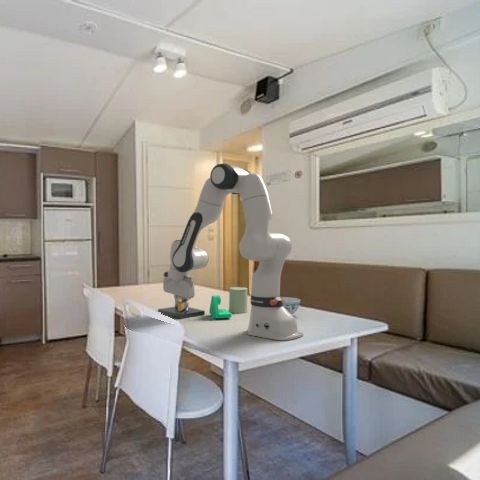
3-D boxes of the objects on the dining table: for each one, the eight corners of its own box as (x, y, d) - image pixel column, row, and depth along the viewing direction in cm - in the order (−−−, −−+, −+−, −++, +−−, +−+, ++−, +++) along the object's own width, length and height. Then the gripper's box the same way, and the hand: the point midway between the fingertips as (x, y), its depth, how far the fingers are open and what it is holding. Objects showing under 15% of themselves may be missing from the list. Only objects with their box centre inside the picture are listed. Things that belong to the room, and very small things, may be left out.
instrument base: (204, 315, 194) (204, 298, 194) (180, 319, 185) (180, 301, 185) (182, 309, 207) (182, 294, 207) (158, 313, 198) (158, 297, 198)
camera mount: (232, 319, 186) (232, 296, 186) (215, 320, 183) (215, 297, 183) (225, 314, 197) (225, 293, 197) (209, 315, 195) (209, 293, 195)
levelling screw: (180, 308, 197) (180, 294, 197) (192, 309, 196) (192, 294, 196) (173, 313, 185) (173, 298, 185) (185, 314, 185) (185, 298, 184)
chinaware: (276, 311, 204) (276, 296, 204) (305, 315, 197) (305, 298, 197) (262, 316, 192) (262, 300, 191) (292, 320, 184) (292, 303, 184)
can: (250, 310, 206) (250, 286, 206) (242, 314, 198) (243, 289, 198) (233, 309, 210) (234, 285, 210) (225, 312, 202) (225, 287, 201)
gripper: (198, 277, 183) (197, 308, 184) (172, 271, 198) (171, 300, 199) (187, 278, 179) (185, 309, 180) (161, 272, 194) (160, 301, 195)
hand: (178, 304), depth 189 cm, fingers closed
